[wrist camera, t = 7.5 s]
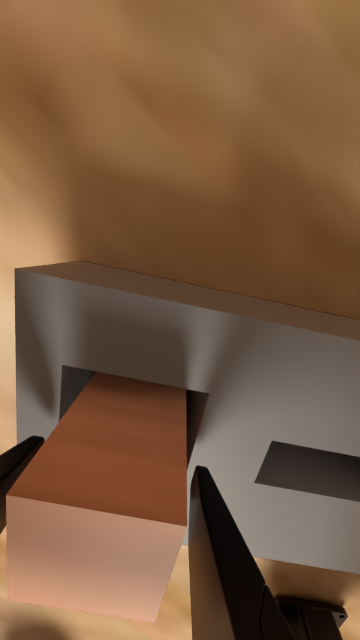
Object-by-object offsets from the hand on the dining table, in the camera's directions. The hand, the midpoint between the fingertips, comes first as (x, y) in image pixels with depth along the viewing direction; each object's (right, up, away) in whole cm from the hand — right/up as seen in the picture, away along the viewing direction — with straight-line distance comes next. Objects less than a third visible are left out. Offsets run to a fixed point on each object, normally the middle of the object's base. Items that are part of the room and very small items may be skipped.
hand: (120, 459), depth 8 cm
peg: (0, +2, +6) cm, 6 cm away
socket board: (+5, +1, +6) cm, 8 cm away
